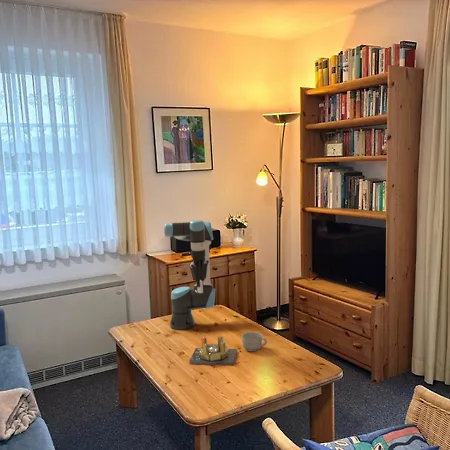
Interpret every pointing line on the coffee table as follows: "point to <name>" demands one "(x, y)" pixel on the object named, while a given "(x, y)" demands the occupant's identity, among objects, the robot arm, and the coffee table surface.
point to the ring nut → (217, 356)
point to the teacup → (252, 341)
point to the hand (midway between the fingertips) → (200, 292)
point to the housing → (212, 350)
